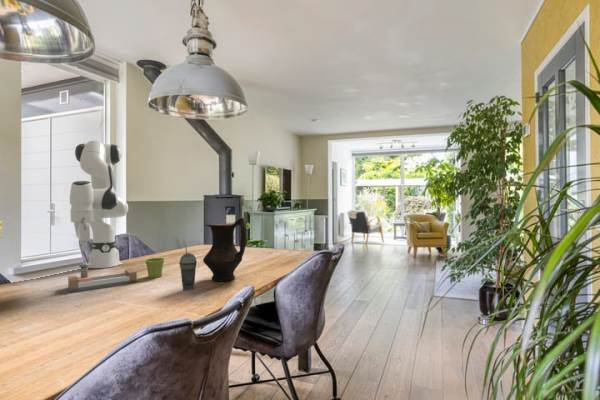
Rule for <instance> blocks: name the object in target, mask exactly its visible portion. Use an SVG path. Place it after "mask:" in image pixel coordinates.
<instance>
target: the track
mask: <svg viewBox="0 0 600 400" xmlns="http://www.w3.org/2000/svg"><path fill="white" fill-rule="evenodd" d="M77 277H78V276H77V275H69V276H67V281H68V282H67V285H68V286H67V288H68V291H69V293H75V292H76V293H77V292H82V291H89V290H90V291H91V290H96V289H97V290H98V289H104V288H109V287H116V286H123V285H129V284H136V283H138V282H137V281H138V279H137V271H136V270H135V269H133V268H126V269H124V272H117V273H110V274H103V275H101V274H100V275H96V276H95V275H94V276H91V277H92V281H86V282H79V283H78V278H77Z"/></svg>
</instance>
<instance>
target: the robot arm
mask: <svg viewBox="0 0 600 400" xmlns="http://www.w3.org/2000/svg"><path fill="white" fill-rule="evenodd" d="M74 155H75V158H76V161H78V163H79V165H80V169H82V171H83V172H85V173H86V174H87V175H88V176H89V175H90V176H91V177H90V179H91V180H90V181H91V182H90V181H87V180H80V181H79V180H76V181H74V182H72V183H71V186H70V193H69V203H70V206H71V207H70V211H69V212H70V223H73V226H74V230H75V236H76V237H77V239H78V241H79V247H80V248H81V251H87V250H88V241H91V232H92V244H91V248H92V250H91V251H90V252H89V254H88V255H87V260H88V262H87V263H88V264H89V266H88V269H103V268H114V267H117V266H121V265H122V264H123V262H122V261H120V252H119V251H120V250H119V249H117V248H116V247H117V243H116V238H115V237H116V236H115V235H116V231H115V228H114V226H112V225H111V224H109V223H107V222H104V220H103V219H113V218H114V219H115V218H116V219H117V218H121V217H125V216H126V215H127V214H128V211H129V205H128V203H127V202H126V200H124V199H123V198H121V197H120V195H119V194H118V193H117V190H116V183H115V177H114V169H113V166H115V165H116V164H118V163H119V162H120V161H121V159H122V155H123V154H122V150H121V148H120V147H119V145H116V144H113V143H112V144H108V143H102V142H100V141H98V140H90V141H88V142H86V143H79V144H77V146H76V147H75V149H74ZM90 227H91V228H90Z"/></svg>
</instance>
